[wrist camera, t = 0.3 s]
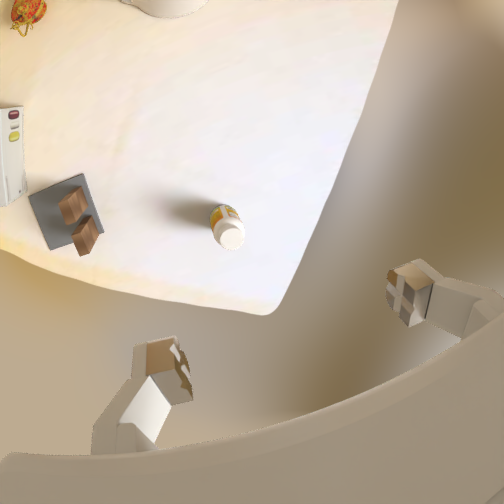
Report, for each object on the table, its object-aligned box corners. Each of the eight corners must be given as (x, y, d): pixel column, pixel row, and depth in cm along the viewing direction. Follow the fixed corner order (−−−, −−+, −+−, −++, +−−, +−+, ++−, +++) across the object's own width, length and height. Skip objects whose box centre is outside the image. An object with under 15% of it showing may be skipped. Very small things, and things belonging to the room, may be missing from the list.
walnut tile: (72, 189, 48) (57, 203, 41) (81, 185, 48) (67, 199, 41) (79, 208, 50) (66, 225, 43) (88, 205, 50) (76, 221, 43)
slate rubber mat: (29, 196, 46) (28, 196, 46) (83, 173, 48) (82, 174, 47) (51, 249, 52) (50, 250, 52) (104, 231, 54) (103, 232, 53)
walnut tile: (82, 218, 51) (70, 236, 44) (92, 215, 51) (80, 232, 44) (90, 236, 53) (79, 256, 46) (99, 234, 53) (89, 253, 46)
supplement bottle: (211, 233, 59) (218, 257, 51) (207, 207, 56) (212, 227, 48) (239, 228, 60) (249, 250, 52) (235, 202, 57) (246, 221, 49)
